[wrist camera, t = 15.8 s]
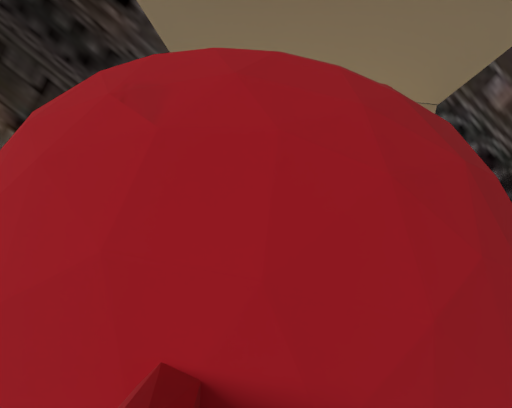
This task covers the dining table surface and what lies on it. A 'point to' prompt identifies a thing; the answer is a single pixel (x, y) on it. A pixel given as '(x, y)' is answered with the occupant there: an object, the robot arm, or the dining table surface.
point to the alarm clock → (249, 244)
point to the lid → (352, 35)
